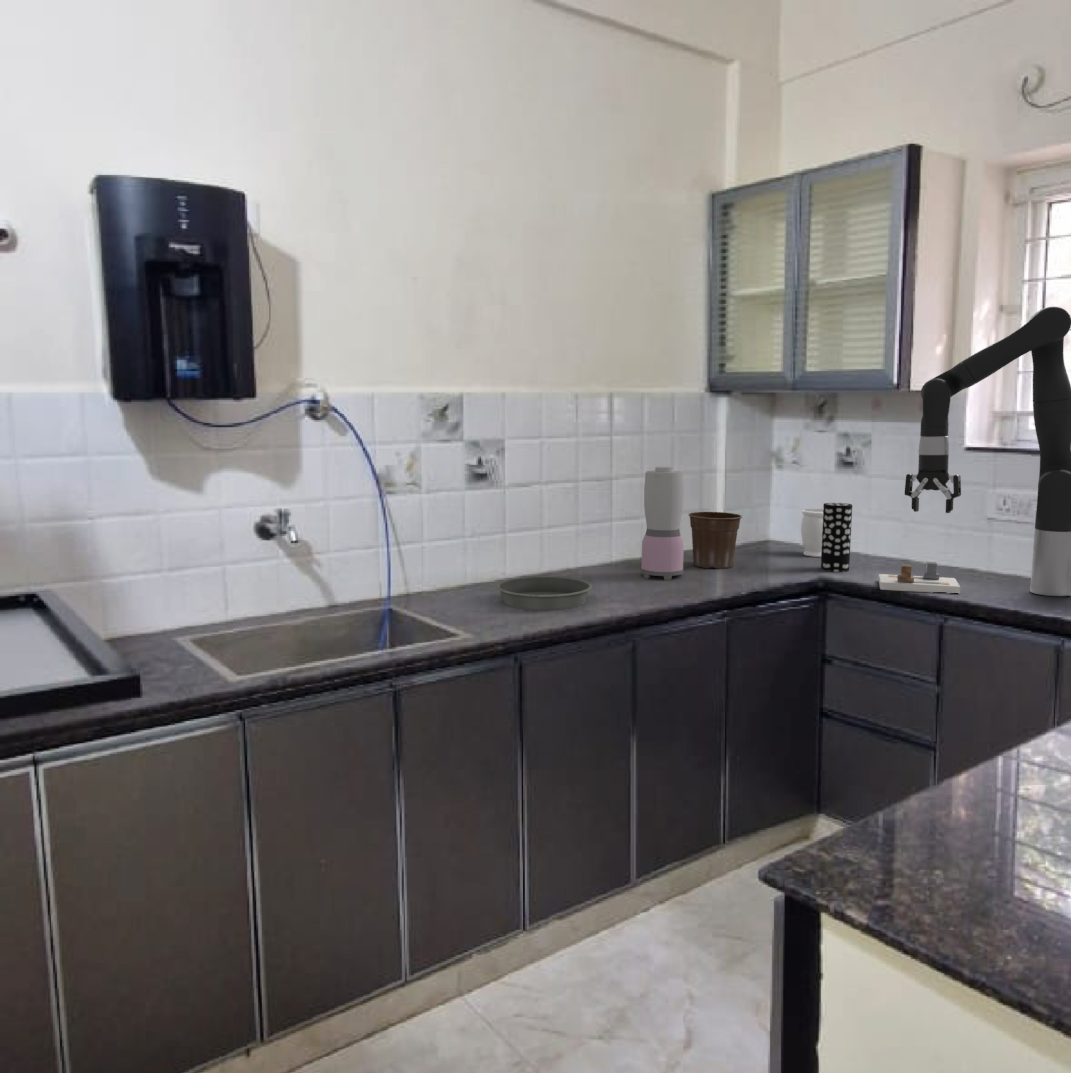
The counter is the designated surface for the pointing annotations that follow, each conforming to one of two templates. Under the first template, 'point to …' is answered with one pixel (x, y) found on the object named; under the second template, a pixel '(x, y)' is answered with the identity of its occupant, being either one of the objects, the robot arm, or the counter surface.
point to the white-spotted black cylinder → (836, 537)
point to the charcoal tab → (931, 571)
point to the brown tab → (905, 574)
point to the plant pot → (714, 538)
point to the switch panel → (919, 584)
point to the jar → (812, 532)
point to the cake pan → (544, 592)
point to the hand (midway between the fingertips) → (931, 512)
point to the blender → (663, 523)
